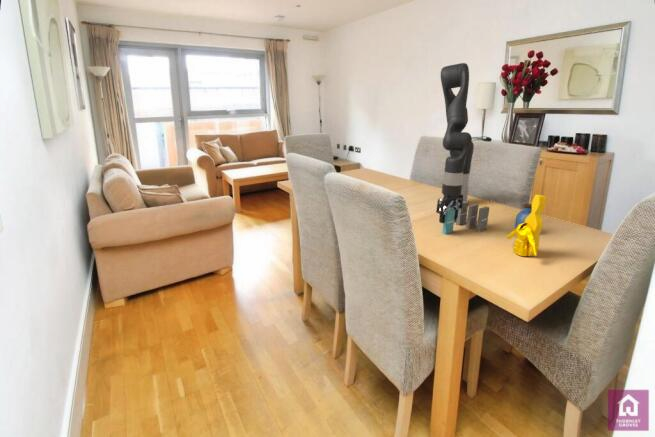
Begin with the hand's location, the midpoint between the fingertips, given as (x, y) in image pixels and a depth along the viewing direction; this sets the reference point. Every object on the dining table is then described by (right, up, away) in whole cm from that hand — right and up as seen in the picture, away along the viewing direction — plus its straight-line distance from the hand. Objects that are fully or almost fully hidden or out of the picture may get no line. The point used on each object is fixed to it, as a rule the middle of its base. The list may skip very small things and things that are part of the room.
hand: (448, 220), depth 151 cm
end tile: (0, -5, +2) cm, 5 cm away
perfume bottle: (+32, -5, +2) cm, 33 cm away
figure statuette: (+21, -12, -19) cm, 31 cm away
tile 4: (+16, -4, +4) cm, 17 cm away
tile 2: (+10, -1, +12) cm, 16 cm away
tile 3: (+13, -3, +8) cm, 15 cm away
